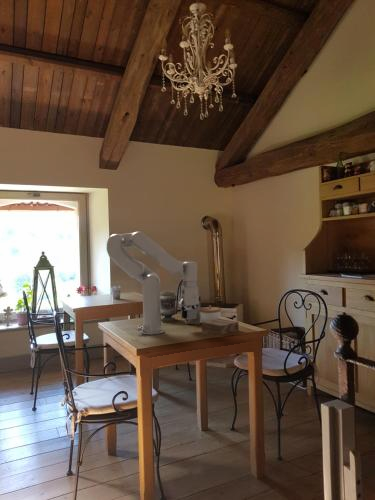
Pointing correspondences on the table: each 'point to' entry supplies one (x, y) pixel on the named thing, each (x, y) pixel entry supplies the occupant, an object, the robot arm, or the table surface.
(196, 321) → the coffee box
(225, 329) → the walnut block
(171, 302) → the apothecary jar
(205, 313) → the lidded bowl
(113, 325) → the table surface
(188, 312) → the slate block
